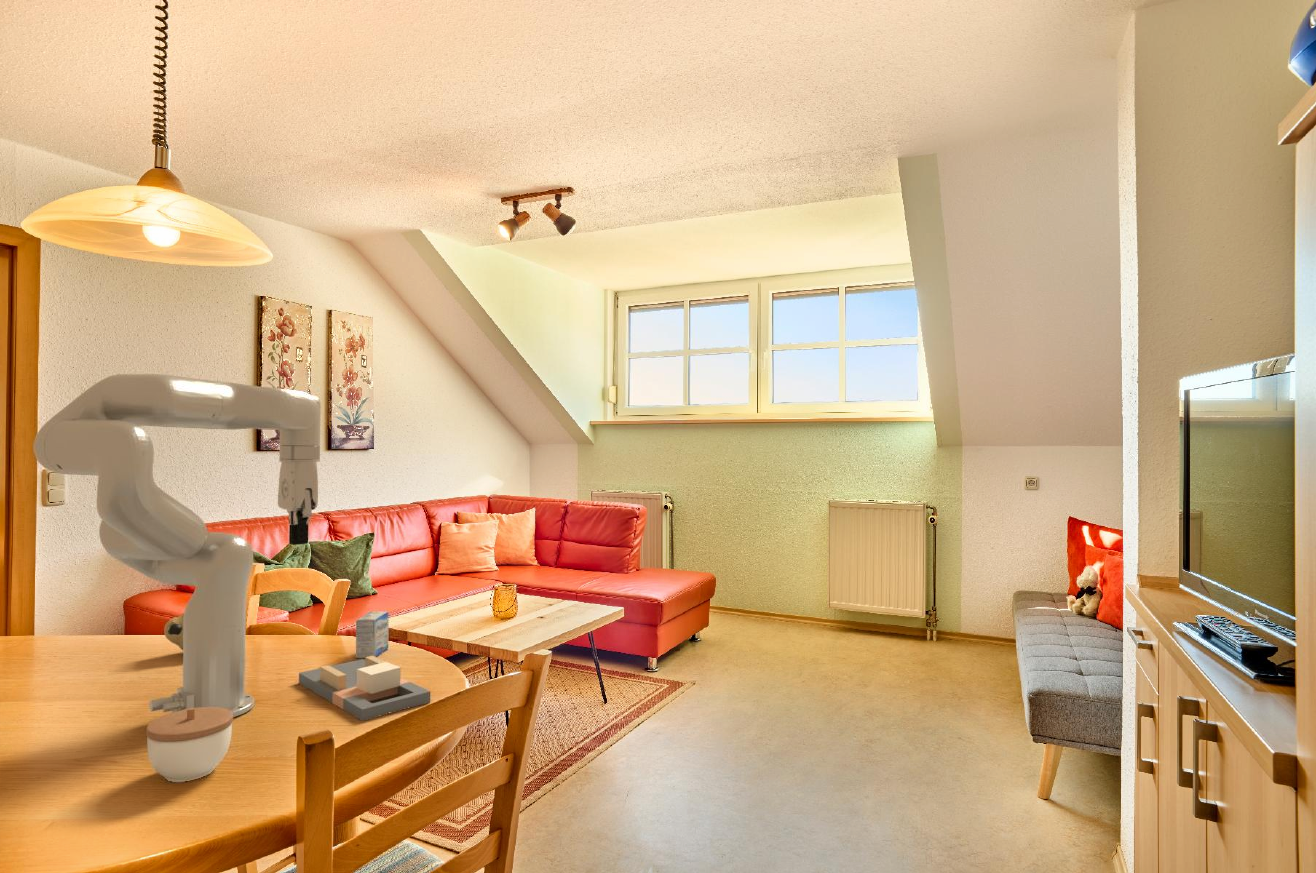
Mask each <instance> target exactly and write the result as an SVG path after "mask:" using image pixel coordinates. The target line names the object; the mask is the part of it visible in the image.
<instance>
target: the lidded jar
mask: <svg viewBox="0 0 1316 873" xmlns="http://www.w3.org/2000/svg"><path fill="white" fill-rule="evenodd" d="M233 720H234V717H233V713H232V712H231V711H230V710H228V709H225V708H220V707H199V708H188V709H185V710H181V711H176V712H173V713H172V712H170V713H167V714H164V715H162V716H159V717H157V718H155V719H153V720H152V721H150V723H148V725H147V726H146V727H145V728H146V730H145V733H146V737H147V738H146V748H147V755H148V759H149V762H150V764H151V766H152V768H153V769H154V771H155V772H157V773H158V774H159V775H160V776H162V777H164V778H165V780H166V779H167V780H168V781H167V780H166V781H167V782H170V781H172V782H171V783H186V782H185V781H188V782H190V781H189V780H193V779H197V780H199V779H198V778H200V779H202V778H201V777H203V776H205V777H207V776H208V775H207V774H209V775H210V774H212V773H213V772H214V771H213V770H215V767H217V766H218V765H219V764H220V763H221V762H222V760H223V759H224V758H225V756H226V755H227V752H228V751H229V747H230V744H231V739H232V735H233V734H232V732H233V722H234V721H233ZM212 771H213V772H212ZM211 772H212V773H211ZM206 775H207V776H206ZM203 778H204V777H203ZM193 781H194V780H193Z"/></svg>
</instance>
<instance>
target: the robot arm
mask: <svg viewBox="0 0 1316 873" xmlns="http://www.w3.org/2000/svg"><path fill="white" fill-rule="evenodd" d="M321 406H322V405H321V399H320V397H318V396H316V395H313V394H310V393H308V392H305V391H301V390H296V389H295V390H294V389H287V388H286V389H285V388H279V387H269V386H258V385H249V384H242V383H235V382H227V381H226V382H225V381H219V380H217V381H216V380H208V379H201V378H194V377H193V378H192V377H185V376H177V375H171V374H160V373H141V374H139V373H137V374H136V373H133V374H132V373H131V374H130V373H127V374H126V373H124V374H123V373H119V374H113V375H109V376H107V377H104V378H103V379H101V380H99V381H97V382H96V383H94V384H93V385H91V386H90V387H89V388H87V389H86V390H85V391H84V392H82V393H80V395H78V396H77V397H76V398H74V399H73V400H72V401H71V402H70V403H68V404H67V405H66V406H65V407H63V408H62V409H61V410H60V411H58V412H57V413H56V414H55V415H54V416H52V417H50V419H48V421H46V422H45V423H44V424H43V425H42V427H41V428H40V429H39V430H38V432H37V434H36V435H35V438H34V441H33V448H32V449H33V453H34V457H35V458H36V460H37V462H38V463H39V464H40V465H41V466H42V467H43V468H45V469H47V470H48V471H50V472H53V473H56V474H61V475H69V476H71V475H73V476H74V475H77V476H96V477H97V478H98V479H97V489H96V491H97V492H96V510H97V513H98V516H99V518H100V519H101V521H100V524H99V525H100V526H99V529H98V532H99V534H98V535H99V540H100V543H101V545H102V548H104V550H105V551H106V553H107V554H109V556H110V557H112V558H114V559H116V560H117V561H118V562H120V563H122V564H123V565H126V566H128V567H129V568H131V569H132V570H135V571H136V572H139V574H140V573H141V574H143V576H146V577H147V578H150V579H152V580H155V581H157V582H160V583H162V584H167V585H179V586H180V585H182V586H191V587H195V589H194V591H193V593H192V595H191V596H190V598H189V600H188V602H187V603H186V606H185V609H184V612H183V613H184V621H183V627H184V632H183V650H182V654H183V655H182V686H181V687H177V688H176V693H171V695H170V696H168V697H164V698H163V697H160V698H155V699H150V700H149V711H150V712H151V713H152V712H157V711H161V710H162V713H166V712H167V713H168V712H171V713H173V712H176V711H181V710H185V709H188V708H199V707H220V708H225V709H228V710H230V711H231V712H232V713H233V718H235V717H238V716H241V715H244V714H245V713H247V712H248V711H250V710H252V708H253V707H254V705H255V698H254V696H252V695H251V694H249V693H245V692H246V691H245V689H246V688H245V686H246V684H245V682H246V629H247V628H246V627H247V626H246V623H247V622H246V621H247V620H246V619H247V618H246V617H247V616H246V615H247V614H246V613H247V595H248V588H249V587H248V586H249V582H250V577H251V573H252V569H253V566H254V564H253V563H254V552H253V548H252V546H251V545H250V543H249V542H248V541H247V540H246V539H245V538H243V537H241V536H239V535H236V534H233V533H227V532H217V531H208V528H207V525H206V524H205V522H204V520H203V519H202V518H201V517H200V516H199V515H198V514H197V513H196V512H194V511H193V510H192V509H190V508H189V507H187V506H186V505H184V504H183V503H181V502H180V501H179V500H177V499H175V498H174V497H172V496H171V495H169V494H168V493H167V492H165V491H164V490H162V489H161V488H160V487H159V486H158V485H157V484H156V482H155V479H154V472H153V471H154V460H155V459H154V458H155V447H154V444H153V441H152V438H151V437H150V435H149V433H148V432H147V431H146V430H145V429H144V428H143V427H145V426H146V427H159V428H160V427H161V428H183V429H185V428H186V429H200V430H201V429H205V430H229V431H231V430H248V429H249V430H250V429H257V430H269V431H275V430H277V431H278V430H279V459H278V460H279V463H281V464H280V470H279V479H278V490H277V491H278V492H277V505H278V507H279V508H280V509H282V510H286V513H288V524H289V525H288V526H289V528H288V543H289V544H290V545H293V546H296V545H304V544H308V543H309V524H310V518H311V517H312V515H313V512H312V511H314V510H316V508H317V507H318V502H319V478H318V465H317V462H321V417H322V416H321V415H322V414H321V412H322V410H321V409H322V407H321Z"/></svg>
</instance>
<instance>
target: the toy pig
mask: <svg viewBox="0 0 1316 873" xmlns="http://www.w3.org/2000/svg"><path fill="white" fill-rule="evenodd" d="M183 621H184V612H183V613H181V614H180V615H179V616H173V618H171V619H169V620H168V621H166V623H165V625H164V628H163V630H164V631H163V632H164V636H165V638H166V639H167V640H168V641H169V642H171V643H172V644H174V645H176V646H177V647H178V648H179V649H180V650H182V651H183V632H184V627H183Z"/></svg>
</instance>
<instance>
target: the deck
mask: <svg viewBox="0 0 1316 873" xmlns="http://www.w3.org/2000/svg"><path fill="white" fill-rule="evenodd" d="M384 662H386V660H383V659H382V658H379V657H374V656H369V657H366V658H360V659H358V660H351V661H347V662H343V663H338V664H333V665H328V664H327V665H323V666H320V667H319V668H315V669H310V670H306V671H301V672H298V684H300V685H302V686H303V687H305V688H306V689H308V690H310V691H312V692H313V693H315V694H317V695H318V696H320V697H321V698H324V699H325V700H327V701H329V702H330V703H331V704H333V705H335V706H337V707H339V708H340V709H342V710H343V711H344V712H346V713H348V714H350V715H351V716H353V717H355V718H357V719H358V720H360V721H362V722H363V721H366V720H371V719H374V718H373V717H375V718H378V717H380V716H379V715H382V716H385V715H384V714H386V713H389V712H393V713H395V712H394V711H397V712H399V711H398V710H400V711H402V710H401V709H404V708H407V709H409V708H408V707H411V708H414V707H417V706H421V705H425V704H428V703H431V690H428V689H426V688H424V687H422V686H420V685H418V684H416V683H414V682H411V681H410V680H408V679H405V678H403V677H402V676H401V677H400V686H398V687H394V688H391V689H387V690H383V691H380V692H376V693H373V694H370V693H368V692H365V691H363V690H361V689H358V688H357V669H360V668H364V667H368V666H372V665H376V664H380V663H384ZM404 710H405V709H404ZM389 714H390V713H389ZM386 715H387V714H386ZM377 716H378V717H377Z"/></svg>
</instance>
